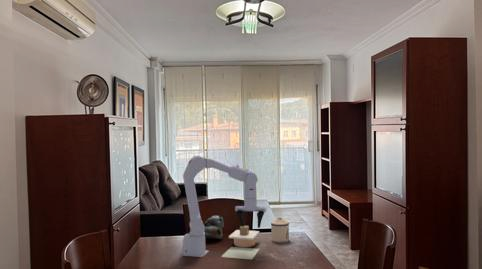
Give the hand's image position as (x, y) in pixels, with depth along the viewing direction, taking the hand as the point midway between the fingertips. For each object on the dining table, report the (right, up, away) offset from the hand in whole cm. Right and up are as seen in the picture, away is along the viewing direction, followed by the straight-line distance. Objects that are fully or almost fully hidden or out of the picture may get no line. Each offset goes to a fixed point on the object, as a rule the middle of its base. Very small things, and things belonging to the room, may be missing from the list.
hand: (251, 226), depth 168 cm
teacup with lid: (+15, -10, +14) cm, 23 cm away
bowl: (-3, -10, +7) cm, 13 cm away
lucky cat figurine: (-20, -11, +18) cm, 29 cm away
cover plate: (-3, -6, +7) cm, 10 cm away
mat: (-5, -11, -6) cm, 13 cm away
